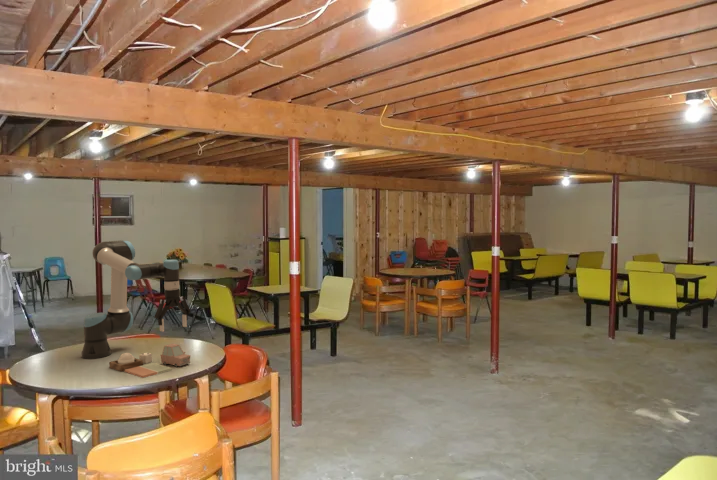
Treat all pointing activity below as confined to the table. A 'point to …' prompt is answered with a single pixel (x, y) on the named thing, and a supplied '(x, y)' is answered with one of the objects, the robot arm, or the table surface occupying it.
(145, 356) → the die
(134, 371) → the board
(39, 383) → the table surface
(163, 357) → the toy car
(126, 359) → the dome
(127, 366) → the dome housing
